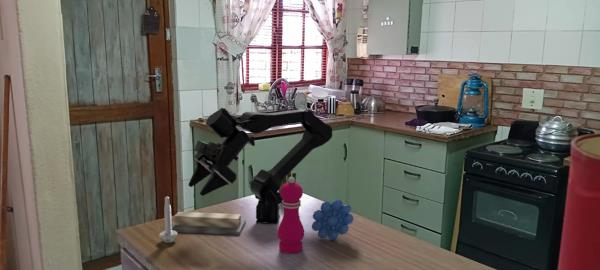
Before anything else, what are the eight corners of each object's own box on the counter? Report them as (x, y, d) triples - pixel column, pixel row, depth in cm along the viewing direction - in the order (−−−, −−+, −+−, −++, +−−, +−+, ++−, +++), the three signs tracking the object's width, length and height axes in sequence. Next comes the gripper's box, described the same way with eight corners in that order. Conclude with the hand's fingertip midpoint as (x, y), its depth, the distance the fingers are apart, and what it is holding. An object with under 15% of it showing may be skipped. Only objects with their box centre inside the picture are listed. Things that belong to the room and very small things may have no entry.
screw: (162, 237, 130) (179, 237, 130) (157, 244, 125) (175, 245, 125) (161, 193, 127) (178, 193, 127) (155, 198, 123) (173, 199, 123)
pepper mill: (301, 255, 120) (302, 181, 116) (274, 253, 121) (274, 179, 117) (306, 244, 127) (307, 174, 123) (280, 241, 128) (281, 172, 124)
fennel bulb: (297, 204, 159) (297, 171, 156) (288, 208, 155) (288, 174, 153) (284, 201, 162) (284, 168, 160) (275, 204, 158) (275, 170, 156)
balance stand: (245, 223, 141) (245, 211, 141) (239, 234, 132) (239, 222, 132) (178, 220, 143) (178, 208, 142) (168, 231, 134) (168, 219, 133)
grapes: (352, 234, 134) (353, 195, 132) (353, 244, 127) (354, 203, 125) (312, 232, 135) (313, 193, 132) (310, 242, 128) (311, 201, 126)
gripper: (199, 125, 137) (164, 165, 133) (225, 135, 121) (185, 182, 117) (224, 148, 142) (191, 188, 138) (252, 161, 127) (215, 206, 123)
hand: (195, 190), depth 129 cm, fingers open, 9 cm apart
